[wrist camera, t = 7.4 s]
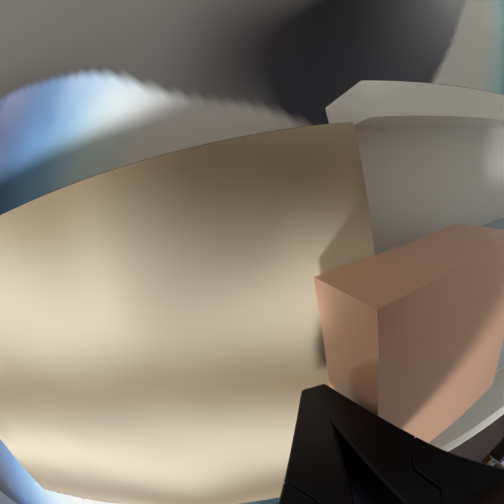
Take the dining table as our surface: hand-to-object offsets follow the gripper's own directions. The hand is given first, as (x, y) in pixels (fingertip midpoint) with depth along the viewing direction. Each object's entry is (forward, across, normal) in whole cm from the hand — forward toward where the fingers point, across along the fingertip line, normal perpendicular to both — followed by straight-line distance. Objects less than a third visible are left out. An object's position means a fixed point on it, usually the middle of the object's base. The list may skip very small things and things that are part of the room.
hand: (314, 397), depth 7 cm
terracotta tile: (+1, -4, 0) cm, 4 cm away
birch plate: (+4, +6, 0) cm, 7 cm away
